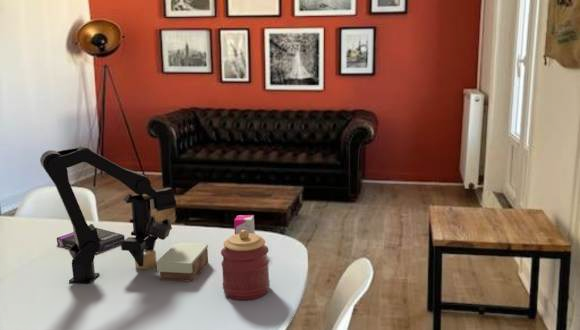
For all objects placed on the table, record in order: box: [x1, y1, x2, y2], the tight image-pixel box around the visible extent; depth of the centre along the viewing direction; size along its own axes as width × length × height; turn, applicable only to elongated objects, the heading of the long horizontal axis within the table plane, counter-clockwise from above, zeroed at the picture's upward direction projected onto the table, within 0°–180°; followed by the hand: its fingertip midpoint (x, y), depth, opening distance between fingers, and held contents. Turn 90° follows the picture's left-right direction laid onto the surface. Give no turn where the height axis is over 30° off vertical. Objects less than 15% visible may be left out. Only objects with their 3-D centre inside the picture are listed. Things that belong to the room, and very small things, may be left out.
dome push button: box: [134, 249, 157, 270], centre depth 171 cm, size 6×6×4 cm
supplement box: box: [233, 214, 256, 235], centre depth 181 cm, size 6×6×12 cm
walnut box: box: [159, 248, 209, 282], centre depth 166 cm, size 14×10×5 cm
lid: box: [156, 242, 209, 273], centre depth 165 cm, size 16×10×3 cm
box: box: [56, 227, 126, 253], centre depth 192 cm, size 14×4×20 cm
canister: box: [220, 230, 271, 301], centre depth 150 cm, size 13×13×18 cm
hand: (145, 262), depth 171 cm, fingers closed on dome push button, 6 cm apart
